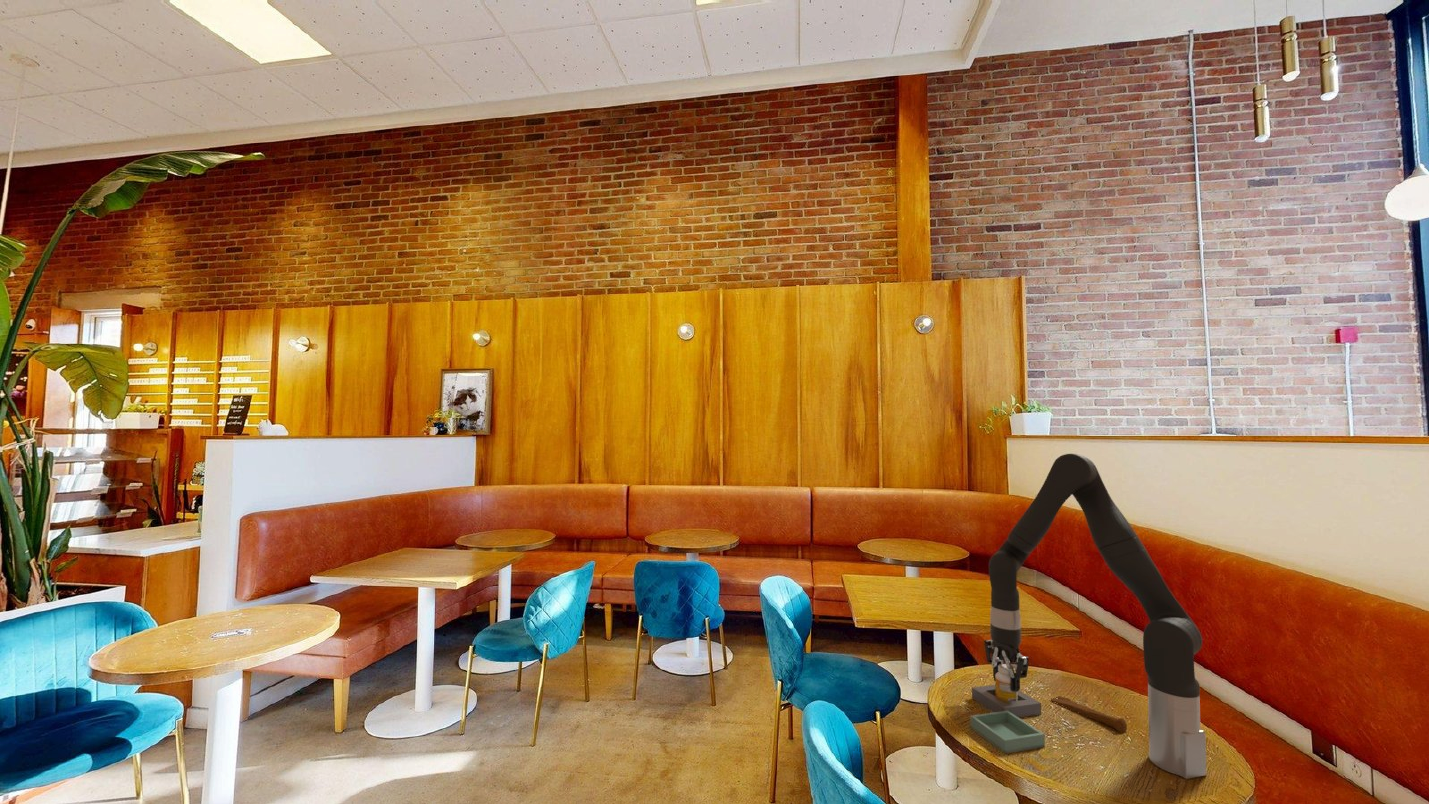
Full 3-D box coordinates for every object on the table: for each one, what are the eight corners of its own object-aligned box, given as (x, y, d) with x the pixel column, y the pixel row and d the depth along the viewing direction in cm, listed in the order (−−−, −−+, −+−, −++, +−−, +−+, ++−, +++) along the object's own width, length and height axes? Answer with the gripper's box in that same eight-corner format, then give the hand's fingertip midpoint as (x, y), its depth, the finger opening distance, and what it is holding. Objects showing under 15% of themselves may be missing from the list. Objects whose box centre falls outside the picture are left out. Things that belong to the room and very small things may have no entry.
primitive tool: (1047, 701, 158) (1047, 688, 158) (1059, 698, 160) (1059, 685, 160) (1120, 736, 140) (1120, 721, 140) (1133, 731, 142) (1133, 717, 143)
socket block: (1041, 714, 149) (1041, 703, 149) (1004, 719, 146) (1004, 708, 146) (1006, 693, 161) (1006, 683, 161) (971, 698, 158) (971, 687, 158)
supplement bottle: (998, 696, 157) (997, 661, 158) (1019, 702, 154) (1019, 666, 154) (993, 703, 153) (993, 667, 153) (1015, 709, 149) (1014, 672, 150)
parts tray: (1044, 747, 134) (1044, 734, 134) (1005, 753, 131) (1005, 740, 131) (1007, 722, 145) (1007, 710, 145) (970, 727, 142) (970, 715, 142)
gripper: (1037, 631, 148) (1038, 696, 148) (997, 614, 162) (997, 674, 161) (1014, 634, 146) (1015, 700, 146) (975, 616, 160) (976, 676, 159)
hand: (1006, 686), depth 153 cm, fingers closed on supplement bottle, 5 cm apart
